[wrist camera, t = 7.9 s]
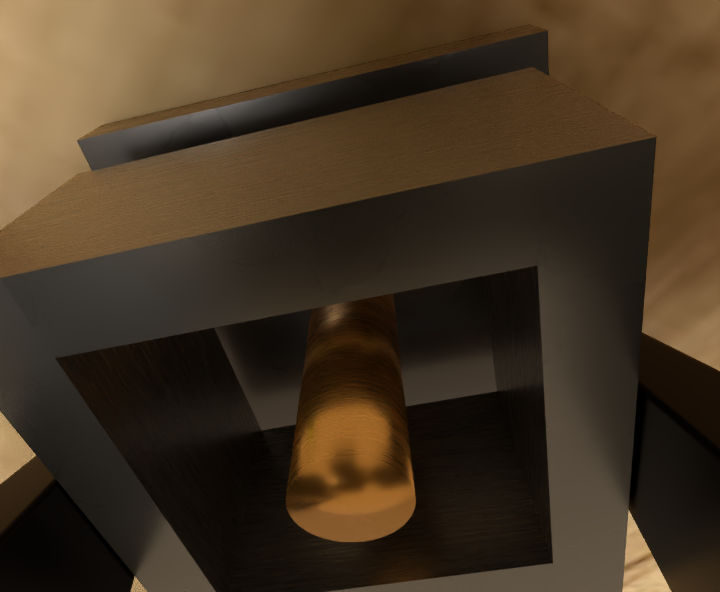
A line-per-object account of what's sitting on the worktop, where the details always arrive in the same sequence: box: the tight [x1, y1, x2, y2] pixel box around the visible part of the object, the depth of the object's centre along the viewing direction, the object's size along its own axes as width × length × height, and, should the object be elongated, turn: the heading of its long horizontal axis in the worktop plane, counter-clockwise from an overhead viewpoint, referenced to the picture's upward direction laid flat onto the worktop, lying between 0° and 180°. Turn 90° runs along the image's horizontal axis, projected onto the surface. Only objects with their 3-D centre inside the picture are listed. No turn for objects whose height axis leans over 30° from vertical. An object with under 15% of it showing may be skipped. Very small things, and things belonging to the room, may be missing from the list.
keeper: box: [77, 25, 549, 542], centre depth 9 cm, size 8×8×6 cm
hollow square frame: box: [0, 67, 656, 592], centre depth 8 cm, size 7×7×4 cm
